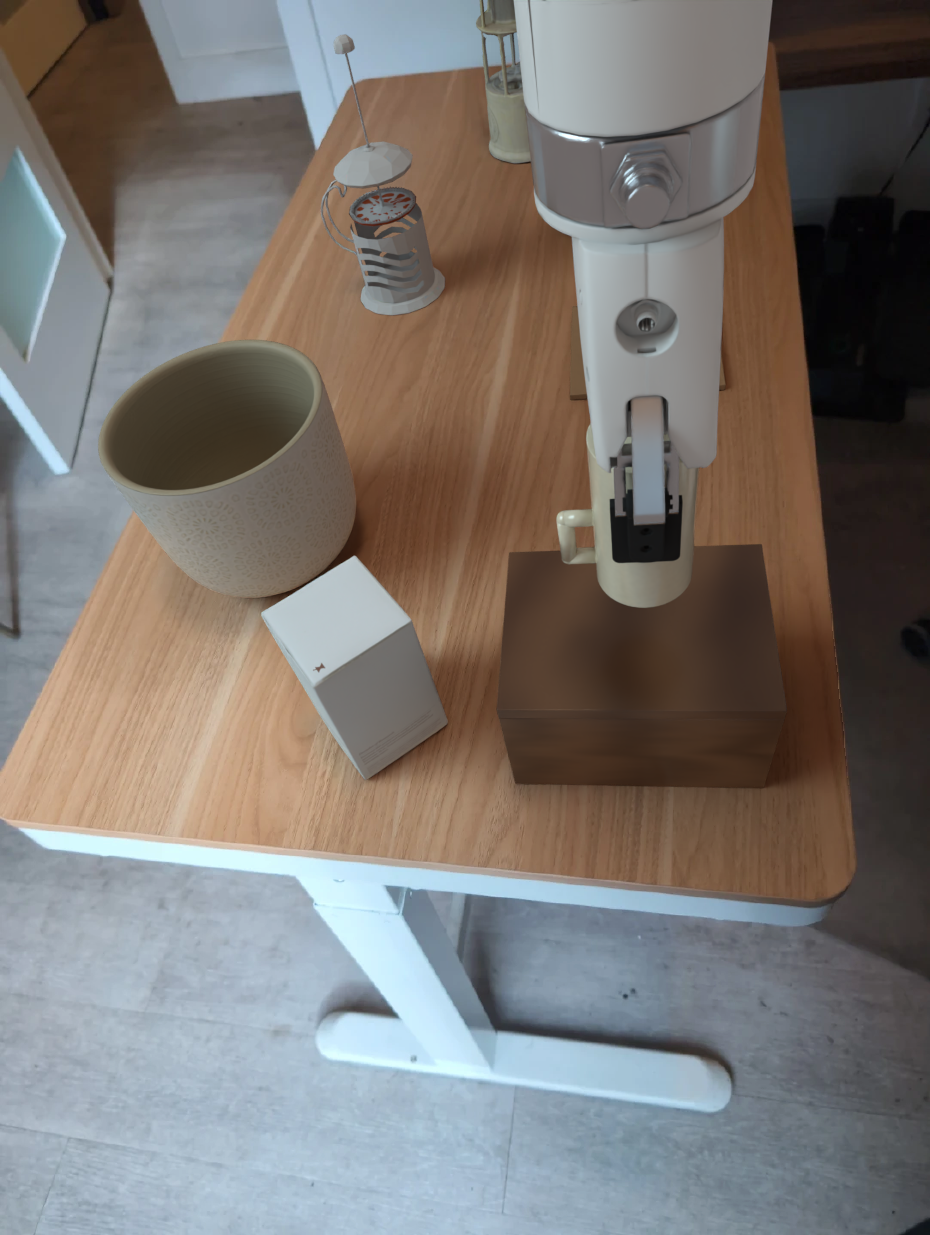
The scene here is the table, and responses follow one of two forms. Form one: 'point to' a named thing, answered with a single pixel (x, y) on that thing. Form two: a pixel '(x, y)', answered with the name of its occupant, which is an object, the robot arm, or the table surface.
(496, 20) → the lamp
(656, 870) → the table surface
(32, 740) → the table surface
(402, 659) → the white packaging box
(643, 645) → the brown lidded box
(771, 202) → the table surface
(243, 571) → the planter
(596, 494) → the cream mug
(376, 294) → the french press
